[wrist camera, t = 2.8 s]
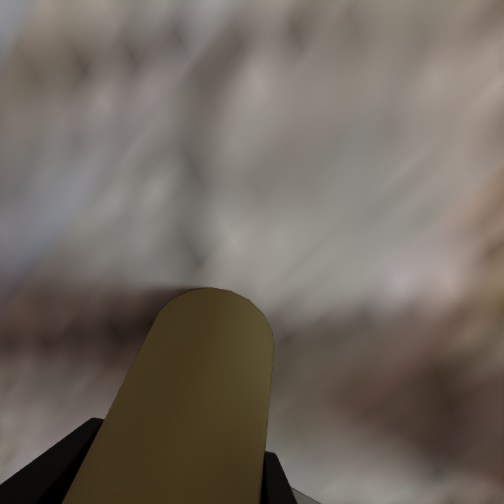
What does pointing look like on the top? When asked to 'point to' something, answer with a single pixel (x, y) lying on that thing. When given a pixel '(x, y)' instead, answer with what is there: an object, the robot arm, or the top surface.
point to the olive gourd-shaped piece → (187, 410)
